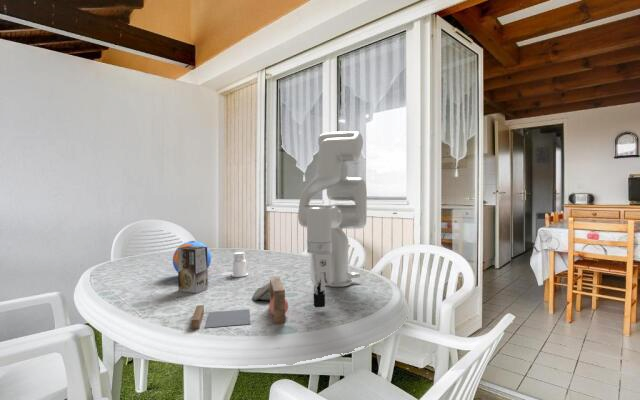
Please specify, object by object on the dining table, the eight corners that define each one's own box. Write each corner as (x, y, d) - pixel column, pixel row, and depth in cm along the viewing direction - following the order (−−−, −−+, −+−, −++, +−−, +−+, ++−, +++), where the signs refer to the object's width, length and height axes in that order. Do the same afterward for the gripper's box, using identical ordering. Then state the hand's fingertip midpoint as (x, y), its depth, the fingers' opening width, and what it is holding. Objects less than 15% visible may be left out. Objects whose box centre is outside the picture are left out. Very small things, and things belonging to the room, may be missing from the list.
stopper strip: (203, 313, 104) (203, 305, 104) (199, 328, 93) (199, 319, 93) (196, 313, 104) (196, 305, 104) (191, 329, 92) (191, 320, 92)
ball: (275, 316, 105) (290, 305, 106) (277, 322, 99) (293, 310, 101) (264, 302, 104) (279, 290, 105) (266, 307, 99) (282, 295, 100)
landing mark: (249, 309, 107) (249, 309, 107) (250, 324, 96) (250, 323, 96) (209, 312, 105) (209, 312, 105) (205, 328, 93) (205, 327, 93)
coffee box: (208, 289, 130) (208, 246, 130) (195, 293, 124) (195, 249, 124) (190, 286, 134) (190, 245, 134) (177, 290, 128) (176, 247, 128)
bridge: (279, 306, 111) (279, 277, 111) (285, 323, 97) (285, 290, 96) (269, 306, 110) (269, 278, 110) (274, 324, 96) (274, 290, 96)
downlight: (252, 274, 152) (251, 252, 152) (240, 278, 146) (239, 254, 146) (239, 273, 157) (238, 251, 157) (227, 276, 151) (226, 253, 151)
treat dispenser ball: (217, 273, 155) (217, 239, 154) (198, 282, 140) (197, 244, 139) (187, 271, 158) (186, 238, 158) (164, 280, 143) (164, 243, 143)
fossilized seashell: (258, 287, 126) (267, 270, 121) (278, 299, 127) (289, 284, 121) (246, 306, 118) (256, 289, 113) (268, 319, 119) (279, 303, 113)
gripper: (337, 250, 99) (337, 313, 100) (325, 243, 114) (325, 298, 114) (312, 251, 98) (312, 315, 98) (302, 243, 112) (302, 299, 113)
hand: (319, 306), depth 106 cm, fingers closed
